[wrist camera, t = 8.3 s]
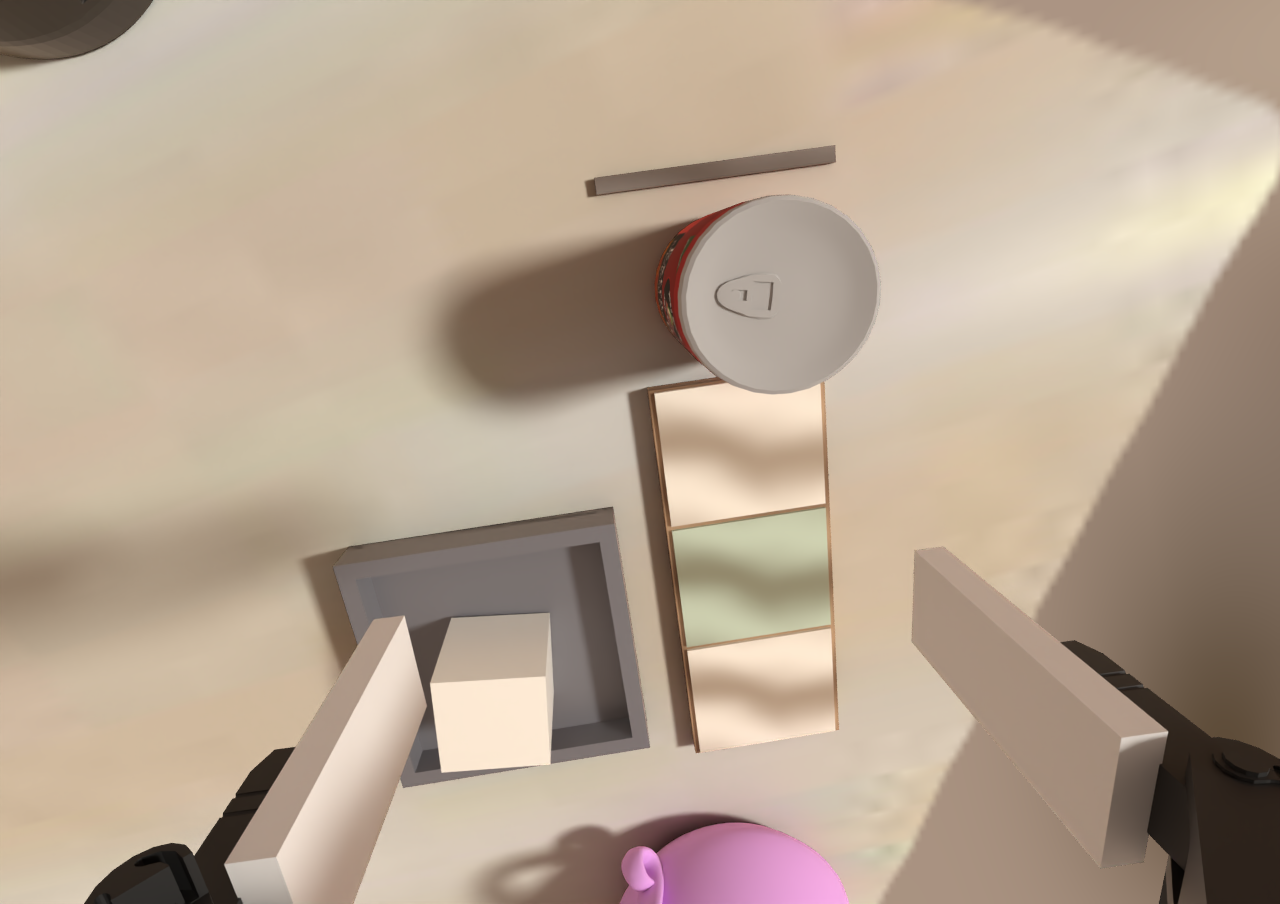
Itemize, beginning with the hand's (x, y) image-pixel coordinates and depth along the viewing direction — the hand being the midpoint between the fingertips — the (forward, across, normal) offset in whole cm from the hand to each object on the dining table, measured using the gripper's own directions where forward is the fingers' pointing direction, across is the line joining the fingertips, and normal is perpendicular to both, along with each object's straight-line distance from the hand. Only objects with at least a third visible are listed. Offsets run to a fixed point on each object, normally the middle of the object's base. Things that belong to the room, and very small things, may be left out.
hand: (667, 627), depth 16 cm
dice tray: (+21, -9, -13) cm, 27 cm away
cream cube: (+18, -9, -11) cm, 23 cm away
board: (+21, +7, -5) cm, 23 cm away
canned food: (+22, +6, +7) cm, 23 cm away
